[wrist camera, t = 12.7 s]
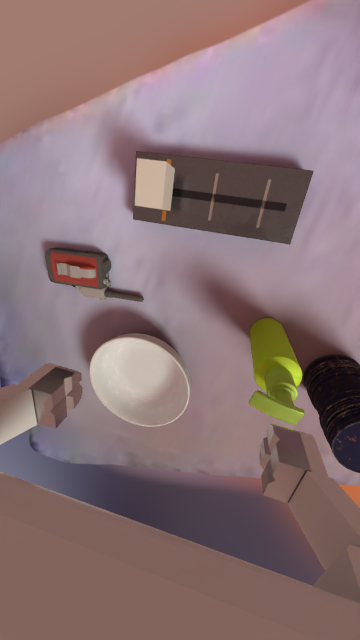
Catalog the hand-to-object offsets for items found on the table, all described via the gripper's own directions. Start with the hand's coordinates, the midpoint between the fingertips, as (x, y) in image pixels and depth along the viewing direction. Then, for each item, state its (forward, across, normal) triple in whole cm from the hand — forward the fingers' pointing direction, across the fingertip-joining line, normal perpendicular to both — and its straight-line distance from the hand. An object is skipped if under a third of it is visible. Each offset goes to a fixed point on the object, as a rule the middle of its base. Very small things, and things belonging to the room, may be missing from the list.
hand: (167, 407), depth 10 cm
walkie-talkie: (+34, +23, +6) cm, 41 cm away
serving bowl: (+33, +11, +24) cm, 43 cm away
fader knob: (+30, +10, -10) cm, 33 cm away
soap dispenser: (+33, -10, +10) cm, 36 cm away
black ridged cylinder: (+33, -24, +16) cm, 44 cm away
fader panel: (+33, +3, -10) cm, 35 cm away
